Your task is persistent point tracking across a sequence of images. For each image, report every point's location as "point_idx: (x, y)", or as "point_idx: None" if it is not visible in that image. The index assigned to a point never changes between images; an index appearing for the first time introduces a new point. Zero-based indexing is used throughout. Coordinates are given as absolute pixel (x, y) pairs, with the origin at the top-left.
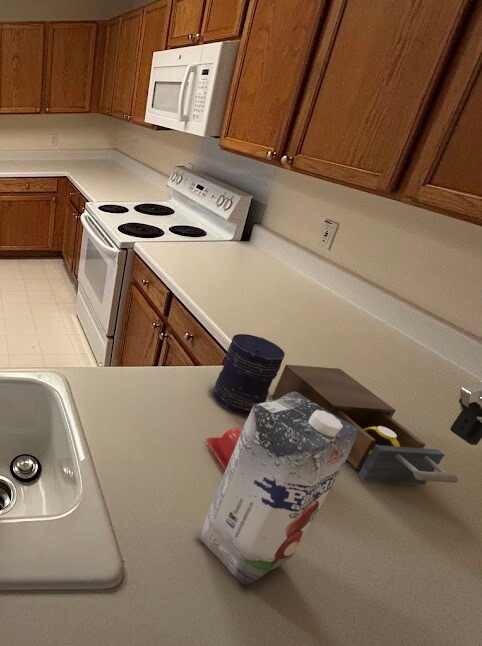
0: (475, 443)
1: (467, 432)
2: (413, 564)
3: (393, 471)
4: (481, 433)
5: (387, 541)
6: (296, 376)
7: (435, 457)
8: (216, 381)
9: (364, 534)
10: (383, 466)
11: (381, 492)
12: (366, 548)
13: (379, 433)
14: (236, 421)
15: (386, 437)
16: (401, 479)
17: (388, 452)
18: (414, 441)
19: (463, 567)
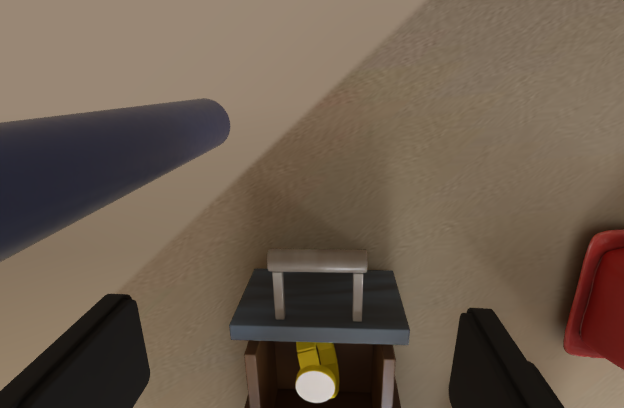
0: (485, 314)
1: (542, 377)
2: (466, 84)
3: (339, 287)
4: (529, 371)
5: (471, 133)
6: None
7: (252, 317)
8: None
9: (510, 146)
10: (371, 295)
11: (362, 248)
12: (541, 113)
13: (335, 381)
14: None
15: (328, 370)
16: (310, 274)
17: (385, 324)
18: (258, 361)
19: (354, 88)
